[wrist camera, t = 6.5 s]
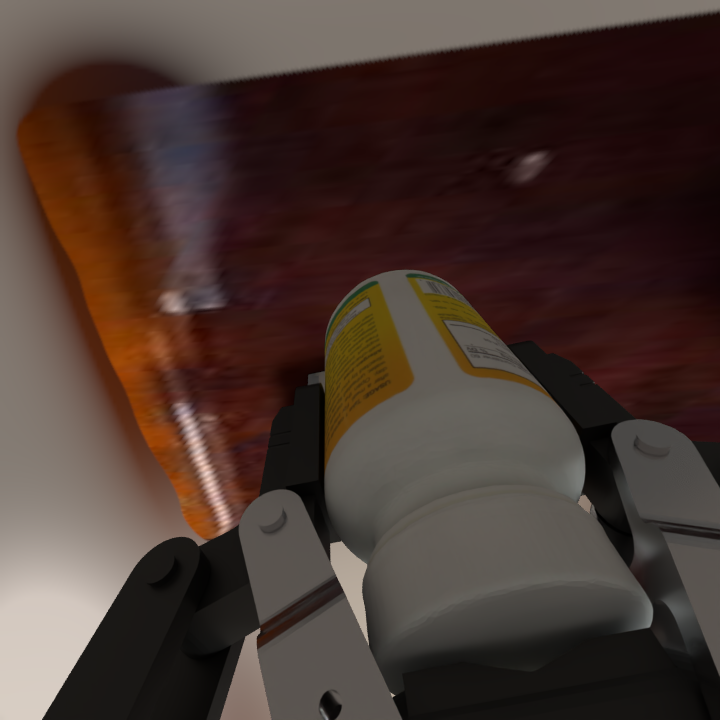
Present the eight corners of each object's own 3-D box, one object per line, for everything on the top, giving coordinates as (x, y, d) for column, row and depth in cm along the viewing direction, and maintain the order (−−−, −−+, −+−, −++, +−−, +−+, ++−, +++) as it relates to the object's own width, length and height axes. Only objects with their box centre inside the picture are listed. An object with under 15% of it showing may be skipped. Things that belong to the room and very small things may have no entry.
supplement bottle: (466, 251, 12) (804, 506, 4) (468, 381, 14) (654, 687, 6) (307, 283, 12) (273, 604, 4) (339, 406, 15) (361, 740, 6)
